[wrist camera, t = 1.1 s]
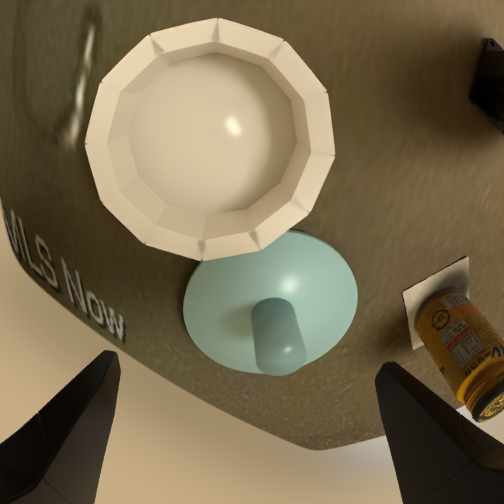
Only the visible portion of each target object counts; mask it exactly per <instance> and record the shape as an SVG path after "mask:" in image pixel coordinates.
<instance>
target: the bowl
mask: <svg viewBox="0 0 504 504" xmlns="http://www.w3.org/2000/svg"><path fill="white" fill-rule="evenodd" d="M283 40H284V39H282V38H279V37H276V36H274V35H271V34H268V33H265V32H263V31H260V30H257V29H254V28H251V27H248V26H245V25H242V24H238V23H235V22H232V21H228V20H225V19H221V18H219V20H218V21H217V18H213V19H208V20H203V21H198V22H194V23H189V24H185V25H181V26H177V27H173V28H169V29H165V30H161V31H158V32H154V33H151V36H149V35H148V36H146V37H145V38H144V39H143V40H142V41H141V42H140V43H139V44H138V45H137V46H135V47H134V48H133V49H132V50H131V51H130V52H129V53H128V54H127V55H126V56H125V57H124V58H123V59H122V60H121V61H120V62H119V63H118V64H117V65H116V66H115V67H114V68H113V69H112V70H111V71H110V72H109V73H108V74H107V75H106V76H105V77H104V79H103V80H102V82H103V83H100V85H99V89H98V92H97V95H96V99H95V103H94V106H93V110H92V114H91V118H90V122H89V126H88V130H87V135H86V139H85V143H87V144H86V145H85V148H86V152H87V156H88V159H89V163H90V167H91V170H92V174H93V177H94V180H95V184H96V187H97V190H98V193H99V197H100V200H101V202H102V201H104V202H103V203H102V204H103V205H104V206H105V207H106V208H107V209H108V210H109V211H110V212H111V213H112V214H113V215H114V216H115V217H116V218H117V219H118V220H119V221H120V222H121V223H122V224H123V225H124V226H125V227H126V228H128V229H129V230H130V231H131V232H132V233H133V234H134V235H135V236H136V237H137V238H138V239H139V240H140V241H141V242H142V243H143V244H144V243H145V242H146V244H145V245H148V246H151V247H154V248H158V249H161V250H164V251H168V252H171V253H175V254H178V255H181V256H185V257H188V258H192V259H195V260H198V261H201V259H202V260H203V261H207V260H212V259H218V258H223V257H229V256H234V255H240V254H245V253H250V252H256V251H260V248H261V249H262V250H263V249H264V248H265V247H267V246H268V245H269V244H270V243H272V242H273V241H274V240H276V239H277V238H278V237H280V236H281V235H282V234H284V233H285V232H286V231H287V230H289V229H290V228H291V227H293V226H294V225H295V224H297V223H298V222H299V221H300V220H302V219H303V218H304V217H306V216H307V215H308V214H309V213H308V211H309V212H311V210H312V208H313V206H314V203H315V201H316V199H317V197H318V194H319V192H320V190H321V188H322V185H323V183H324V181H325V179H326V176H327V174H328V172H329V169H330V167H331V165H332V163H333V160H334V158H335V157H334V156H333V155H335V147H334V138H333V129H332V121H331V113H330V106H329V98H328V93H325V92H326V91H327V90H326V89H325V88H324V87H323V85H322V84H321V83H320V81H319V80H318V79H317V78H316V76H315V75H314V74H313V73H312V71H311V70H310V69H309V68H308V66H307V65H306V64H305V63H304V61H303V60H302V59H301V58H300V57H299V55H298V54H297V53H296V52H295V51H294V50H293V48H292V47H291V46H290V45H289V44H288V43H287V42H286V41H284V42H283ZM282 42H283V43H282Z"/></svg>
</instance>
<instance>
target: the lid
mask: <svg viewBox="0 0 504 504" xmlns="http://www.w3.org/2000/svg"><path fill="white" fill-rule="evenodd" d="M357 299H358V296H357V286H356V282H355V278H354V276H353V273H352V271H351V269H350V268H349V266H348V265H347V263H346V261H345V260H344V258H343V257H342V256H341V255H340V254H339V252H338V251H337V250H336V249H334V248H333V247H332V246H331V245H330V244H328V243H327V242H325V241H323V240H322V239H320V238H318V237H316V236H314V235H311V234H309V233H305V232H302V231H298V230H292V229H289V230H287V231H286V232H285V233H284V234H282V235H281V236H280V237H278V238H277V239H276V240H274V241H273V242H272V243H270V244H269V245H268V246H267V247H265V248H264V249H263V250H262V249H261V248H260V251H256V252H250V253H245V254H240V255H234V256H229V257H223V258H218V259H212V260H207V261H203V260H202V261H201V262H200V263H199V265H198V266H197V267H196V268H195V270H194V272H193V274H192V275H191V277H190V280H189V282H188V285H187V288H186V292H185V297H184V304H183V314H184V321H185V325H186V328H187V331H188V333H189V335H190V337H191V338H192V340H193V341H194V343H195V344H196V345H197V347H198V348H199V349H200V350H201V351H202V352H203V353H205V354H206V355H207V356H208V357H210V358H211V359H213V360H214V361H216V362H218V363H220V364H222V365H224V366H226V367H229V368H232V369H235V370H239V371H243V372H250V373H265V374H268V375H273V376H282V375H287V374H290V373H293V372H295V371H296V370H298V369H299V368H301V367H302V366H303V365H305V364H308V363H310V362H312V361H314V360H316V359H317V358H319V357H321V356H322V355H323V354H325V353H326V352H328V351H329V350H330V349H331V348H332V347H334V346H335V345H336V344H337V343H338V341H339V340H340V339H341V338H342V337H343V335H344V334H345V333H346V331H347V330H348V328H349V326H350V324H351V322H352V320H353V318H354V315H355V311H356V307H357Z"/></svg>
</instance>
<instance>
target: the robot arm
mask: <svg viewBox="0 0 504 504" xmlns="http://www.w3.org/2000/svg"><path fill="white" fill-rule="evenodd" d="M475 96H476V100H475ZM469 98H470V101H471V102H472V103H473V104H474V105H475V106H476V107H477V108H478V109H479V110H481V111H482V112H483V113H484V114H485V115H486V116H487V117H488V118H489V119H490V120H491V121H492V122H493V123H494V124H495V125H497V126H498V127H499V128H500V129H501V130H502V131H503V132H504V50H503V49H502V47H501V46H500V45H499V44H498V43H497V42H496V41H495V40H494V39H492V38H487V39H486V40H485V44H484V48H483V52H482V55H481V59H480V62H479V66H478V69H477V73H476V76H475V79H474V82H473V85H472V89H471V92H470V95H469ZM120 374H121V369H120V364H119V360H118V355H117V353H116V352H114V351H109V350H104V351H103V352H102V353H101V354H100V355H98V356H97V357H96V358H95V359H94V360H93V361H92V362H91V363H90V364H89V365H87V366H86V367H85V368H84V369H83V370H82V371H81V372H80V373H79V374H78V375H77V376H76V377H75V378H73V379H72V380H71V381H70V382H69V383H68V384H67V385H66V386H65V387H64V388H63V389H62V390H61V391H60V392H58V393H57V394H56V395H55V396H54V397H53V398H52V399H51V400H50V401H49V402H48V403H47V404H46V405H45V406H44V407H43V408H42V409H41V410H39V411H38V413H36V414H35V415H34V416H33V417H32V418H31V419H30V420H29V421H28V422H27V423H25V424H24V425H23V426H22V427H21V428H20V429H19V430H18V431H16V432H15V433H14V434H13V435H11V436H10V437H9V438H7V439H6V440H5V441H3V442H2V443H1V444H0V504H94V502H95V497H96V492H97V487H98V482H99V478H100V473H101V468H102V464H103V460H104V455H105V451H106V447H107V442H108V438H109V434H110V431H111V427H112V423H113V418H114V414H115V408H116V401H117V400H116V399H117V394H118V387H119V381H120ZM375 386H376V392H377V397H378V403H379V409H380V414H381V419H382V423H383V426H384V430H385V433H386V437H387V441H388V444H389V448H390V452H391V456H392V460H393V464H394V467H395V471H396V476H397V480H398V484H399V488H400V493H401V497H402V501H403V504H504V444H503V443H501V442H499V441H498V440H496V439H495V438H493V437H492V436H490V435H489V434H487V433H486V432H484V431H483V430H481V429H480V428H478V427H477V426H476V425H474V424H473V423H472V422H470V421H469V420H468V419H466V418H465V417H464V416H463V415H460V413H459V412H457V411H456V410H455V409H454V408H453V407H451V406H450V405H449V404H448V403H446V402H445V401H444V400H443V399H441V398H440V397H439V396H438V395H436V394H435V393H434V392H433V391H431V390H430V389H429V388H428V387H426V386H425V385H424V384H423V383H421V382H420V381H419V380H418V379H416V378H415V377H414V376H413V375H411V374H410V373H409V372H407V371H406V370H405V369H404V368H402V367H401V366H400V365H399V364H397V363H396V362H394V361H391V362H384V363H383V364H382V366H381V368H380V370H379V372H378V373H377V375H376V378H375Z"/></svg>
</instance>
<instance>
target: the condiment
mask: <svg viewBox="0 0 504 504" xmlns="http://www.w3.org/2000/svg"><path fill="white" fill-rule="evenodd" d="M458 285H459V286H458ZM469 286H470V283H469V256H468V257H466V258H464V259H463V260H460V261H458V262H456V263H454V264H452V265H451V266H449V267H447V268H445V269H443V270H441V271H439V272H438V273H436V274H434V275H431V276H430V277H429V278H427V279H426V280H424V281H422V282H420V283H418V284H416V285H414V286H413V287H411V288H409V289H408V290H406V291H404V292H403V297H404V301H405V306H406V311H407V316H408V323H409V329H410V335H411V341H412V347H413V350H415V349H416V348H418V347H420V346H422V345H423V344H424V345H425V347H426V348H427V350H428V352H429V353H430V355H431V356H432V358H433V360H434V362H435V363H436V365H437V366H438V367H439V369H440V371H441V372H442V374H443V376H444V378H445V379H446V381H447V382H448V384H449V386H450V388H451V389H452V391H453V393H454V395H455V397H456V398H457V399H458V400H459V401H461V402H464V403H465V404H466V408H467V409H468V410H469V412H471V414H472V418H473V419H474V420H475V421H476V422H479V423H480V422H485V421H487V420H489V419H491V418H493V417H495V416H496V415H497V414H499V413H500V412H502V411H503V410H504V340H503V339H502V337H501V336H500V335H499V334H498V333H497V332H496V330H495V329H494V328H493V327H492V325H491V324H490V323H489V322H488V321H487V320H486V319H485V317H484V316H483V315H482V314H481V313H480V312H479V310H478V309H477V308H476V307H475V306H474V305H473V303H472V302H471V301H470V300H469ZM425 295H426V297H425V298H424V296H425ZM423 299H424V301H422V300H423Z"/></svg>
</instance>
